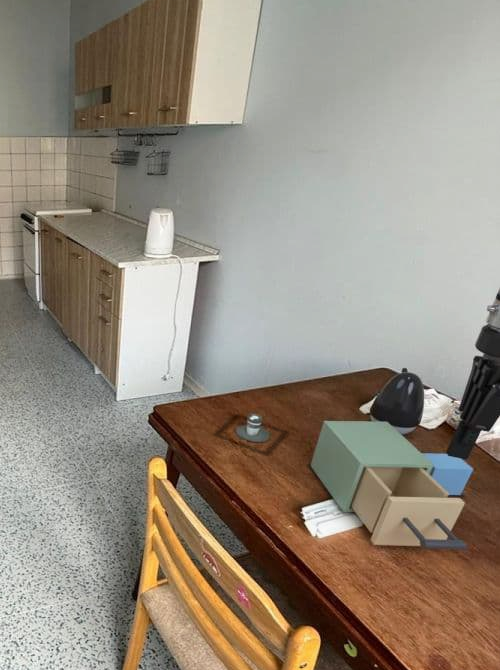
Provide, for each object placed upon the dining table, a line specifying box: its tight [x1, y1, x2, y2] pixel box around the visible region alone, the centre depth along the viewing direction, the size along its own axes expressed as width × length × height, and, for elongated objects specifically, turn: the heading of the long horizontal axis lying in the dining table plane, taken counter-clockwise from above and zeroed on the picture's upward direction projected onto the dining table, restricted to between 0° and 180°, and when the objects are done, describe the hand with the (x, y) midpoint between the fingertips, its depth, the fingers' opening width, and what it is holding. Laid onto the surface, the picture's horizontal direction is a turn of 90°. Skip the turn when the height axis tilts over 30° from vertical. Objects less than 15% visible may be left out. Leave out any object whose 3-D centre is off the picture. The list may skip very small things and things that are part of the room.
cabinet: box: [310, 420, 434, 513], centre depth 93 cm, size 15×13×12 cm
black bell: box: [369, 367, 425, 436], centre depth 112 cm, size 10×10×15 cm
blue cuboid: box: [421, 452, 474, 496], centre depth 95 cm, size 7×5×6 cm
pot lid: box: [235, 413, 271, 443], centre depth 113 cm, size 12×12×5 cm
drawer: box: [350, 467, 468, 550], centre depth 82 cm, size 20×11×10 cm, turn 177°
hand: (456, 455), depth 83 cm, fingers closed
